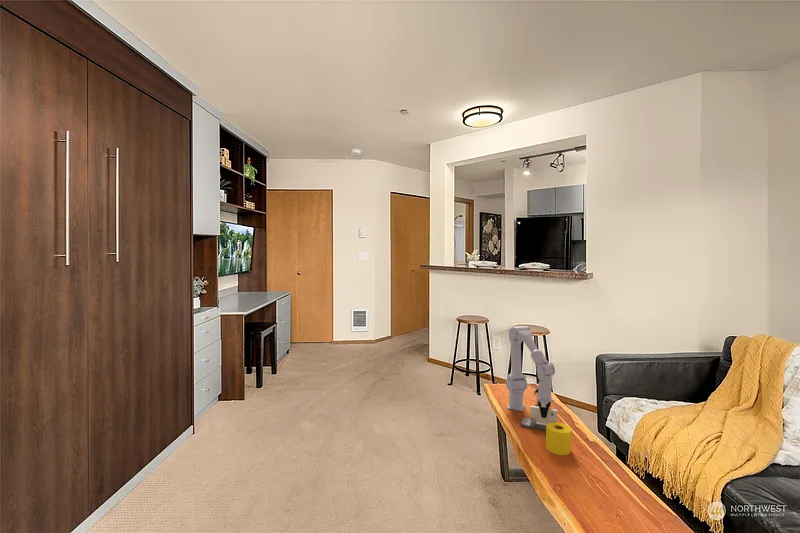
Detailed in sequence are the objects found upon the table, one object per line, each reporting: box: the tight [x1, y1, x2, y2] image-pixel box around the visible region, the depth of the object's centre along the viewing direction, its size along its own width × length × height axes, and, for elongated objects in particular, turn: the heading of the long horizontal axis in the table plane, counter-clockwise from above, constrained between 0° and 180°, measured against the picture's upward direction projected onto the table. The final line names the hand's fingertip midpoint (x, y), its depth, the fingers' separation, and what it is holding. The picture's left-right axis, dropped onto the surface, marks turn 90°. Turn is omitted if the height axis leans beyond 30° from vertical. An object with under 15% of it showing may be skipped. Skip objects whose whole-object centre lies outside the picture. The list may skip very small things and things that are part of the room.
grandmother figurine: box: [533, 383, 539, 407], centre depth 216 cm, size 8×4×13 cm, turn 68°
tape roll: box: [545, 421, 573, 456], centre depth 171 cm, size 10×10×9 cm
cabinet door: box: [529, 405, 558, 424], centre depth 191 cm, size 2×12×7 cm, turn 67°
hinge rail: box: [520, 417, 555, 432], centre depth 191 cm, size 8×20×4 cm, turn 67°
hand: (543, 416), depth 191 cm, fingers closed on cabinet door, 1 cm apart
